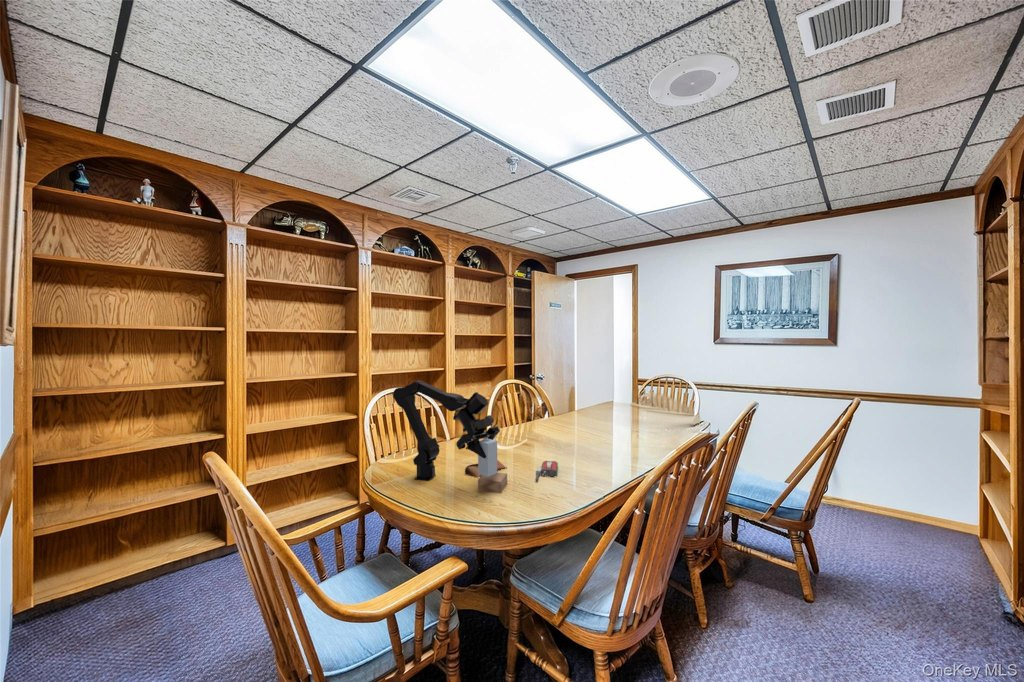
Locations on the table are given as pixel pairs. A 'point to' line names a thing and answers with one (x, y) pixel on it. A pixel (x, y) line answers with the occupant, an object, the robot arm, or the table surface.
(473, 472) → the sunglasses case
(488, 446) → the slate block
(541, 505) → the table surface
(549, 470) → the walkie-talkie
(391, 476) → the table surface
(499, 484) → the walnut base
